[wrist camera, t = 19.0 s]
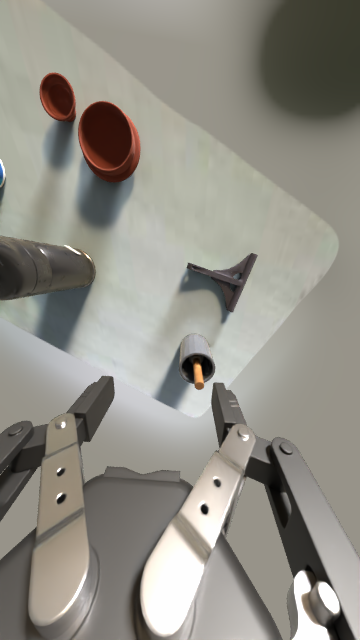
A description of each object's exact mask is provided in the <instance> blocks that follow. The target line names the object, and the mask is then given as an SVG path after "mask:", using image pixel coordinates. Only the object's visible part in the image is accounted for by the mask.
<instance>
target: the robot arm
mask: <svg viewBox="0 0 360 640" xmlns="http://www.w3.org/2000/svg"><path fill="white" fill-rule="evenodd" d="M64 246H65V245H64ZM67 247H68V248H67ZM95 274H96V269H95V265H94V262H93V260H92V259H91V257H90V256H89V255H88V254H87V253H85V252H84V251H82V250H79V249H75V248H71V247H69V246H66V247H62V246H56V245H50V244H45V243H39V242H34V241H28V240H22V239H16V238H11V237H5V236H0V300H13V299H18V298H24V297H29V296H35V295H40V294H46V293H52V292H57V291H63V290H69V289H75V288H83V287H86V286H88V285H90V284H91V283H92V282H93V280H94V278H95ZM114 393H115V392H114V381H113V377H112V376H102V377H101V378H100V379H99V381H98V382H94V383H93V384H91V385H90V386H88V387H87V388H86V390H85V391H84V393H82V394H81V396H80V397H79V398H78V399H77V400H76V402H75V403H74V404H73V405H72V406H71V408H70V409H69V410H68V411H67V412H66V413H64V414H61V415H59V416H57V417H55V418H54V419H52V420H51V422H49V424H45V425H41V426H36V427H33V425H32V423H31V422H30V421H21V422H18V423H16V424H13V425H12V426H10V427H8V428H7V429H6V430H4V431H3V432H2V433H1V434H0V474H1V473H2V471H4V472H3V473H2V474H1V475H0V521H1V520H2V519H3V517H4V516H5V514H6V513H7V511H8V510H9V508H10V507H11V505H12V504H13V503H14V501H15V500H16V498H17V497H18V495H19V494H20V492H21V491H22V490H23V488H24V487H25V485H26V484H27V482H28V481H29V479H30V478H31V477H32V475H33V474H34V472H35V471H36V469H37V468H38V467H39V466H41V477H40V490H39V504H38V518H37V527H36V528H35V529H34V530H33V531H32V532H31V533H29V534H28V535H27V536H26V537H25V538H24V539H23V540H22V541H21V542H20V543H18V544H17V545H16V546H15V547H14V548H13V549H12V550H11V551H10V552H9V553H8V554H6V555H5V556H4V557H3V558H2V559H1V560H0V640H282V637H281V635H280V633H279V630H278V628H277V626H276V624H275V622H274V620H273V618H272V616H271V614H270V613H269V611H268V609H267V607H266V606H265V604H264V603H263V601H262V599H261V597H260V596H259V594H258V593H257V591H256V589H255V587H254V586H253V584H252V582H251V580H250V579H249V577H248V576H247V574H246V572H245V570H244V569H243V567H242V565H241V564H240V562H239V560H238V559H237V557H236V555H235V554H234V552H233V550H232V548H231V547H230V545H229V543H228V542H227V540H226V536H227V533H228V531H229V528H230V525H231V522H232V519H233V515H234V512H235V509H236V506H237V503H238V500H239V497H240V495H241V492H242V489H243V486H244V483H245V480H246V477H249V478H252V479H254V480H256V481H258V482H261V483H263V484H264V486H265V489H266V492H267V495H268V499H269V501H270V505H271V508H272V511H273V514H274V517H275V521H276V524H277V527H278V530H279V534H280V537H281V540H282V543H283V546H284V549H285V552H286V556H287V559H288V562H289V565H290V568H291V572H292V575H293V578H294V581H293V583H292V585H291V587H290V589H289V591H288V594H287V609H288V614H289V620H290V627H291V637H290V640H360V557H359V556H358V554H357V552H356V550H355V549H354V547H353V545H352V543H351V542H350V540H349V538H348V536H347V534H346V533H345V531H344V529H343V528H342V526H341V524H340V522H339V521H338V519H337V517H336V515H335V513H334V512H333V510H332V508H331V506H330V505H329V503H328V501H327V499H326V497H325V496H324V494H323V492H322V491H321V489H320V487H319V485H318V483H317V482H316V480H315V478H314V476H313V474H312V473H311V471H310V469H309V467H308V466H307V464H306V462H305V460H304V459H303V457H302V455H301V453H300V452H299V450H298V449H297V447H296V446H295V445H294V444H293V443H291V442H290V441H288V440H287V439H284V438H280V437H277V438H274V439H273V440H272V442H270V441H268V440H265V439H262V438H260V437H258V436H256V435H255V434H254V432H253V431H252V430H251V429H250V428H249V427H248V426H247V425H246V422H245V419H244V417H243V414H242V412H241V409H240V407H239V404H238V402H237V399H236V396H235V395H234V394H233V393H232V391H231V390H226V389H225V386H224V383H213V391H212V399H211V404H212V411H213V416H214V421H215V426H216V432H217V437H218V442H219V448H220V449H219V450H218V451H215V452H214V453H213V455H212V457H211V458H210V460H209V462H208V463H207V465H206V467H205V469H204V470H203V472H202V474H201V476H200V477H199V479H198V481H197V482H196V484H195V485H194V487H193V486H192V485H190V484H189V483H188V482H186V481H185V480H183V479H180V471H169V470H167V471H166V470H161V471H156V472H152V473H147V474H139V473H137V472H134V471H132V470H129V469H127V468H124V467H108V466H107V468H106V470H105V473H104V474H101V475H99V476H96V477H94V478H92V479H91V480H89V481H87V482H86V483H85V478H84V470H83V463H82V455H81V448H80V446H81V445H82V443H83V441H84V442H90V441H91V439H92V437H93V435H94V434H95V432H96V430H97V428H98V426H99V425H100V423H101V421H102V419H103V417H104V415H105V414H106V412H107V410H108V408H109V407H110V405H111V403H112V401H113V399H114ZM8 465H9V466H8ZM7 466H8V467H7ZM6 467H7V468H6ZM5 468H6V469H5ZM4 469H5V470H4Z"/></svg>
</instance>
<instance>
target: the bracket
mask: <svg viewBox="0 0 360 640" xmlns="http://www.w3.org/2000/svg"><path fill="white" fill-rule="evenodd" d="M257 256H258V255H256V254H253V253H251V254H250V255H248V256H247V257H246V258H245V259H244V260H243V261H242V262H240V263H239V264H237V265H236V266H234V267H232V268H230V269H226V270H214V271H211V270H208V269H205V268H202V267H199V266H197V265H194V264H191V263H188V265H187V268H188V269H191V270H194V271H196V272H199V273H202V274H205V275H208V276H211V278H212V279H213V280H214V281H216V282H217V283H218V284H219V286H220V287H221V288H222V290H223V292H224V295H225V299H226V308H227V310H228V311H230V312H233V311H234V308H235V306H236V304H237V301H238V299H239V297H240V295H241V292H242V290H243V288H244V285H245V283H246V281H247V279H248V276H249V274H250V272H251V269H252V267H253V265H254V263H255V260H256V258H257ZM227 271H228V272H227ZM231 272H232V273H231ZM237 273H242V275H241V277H240V279H239V280H237V279H234V278H233V276H234V275H235V274H237ZM230 283H231V284H234V285H236V286H237V287H236V289H235V292H233V291H231V289H230Z"/></svg>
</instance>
